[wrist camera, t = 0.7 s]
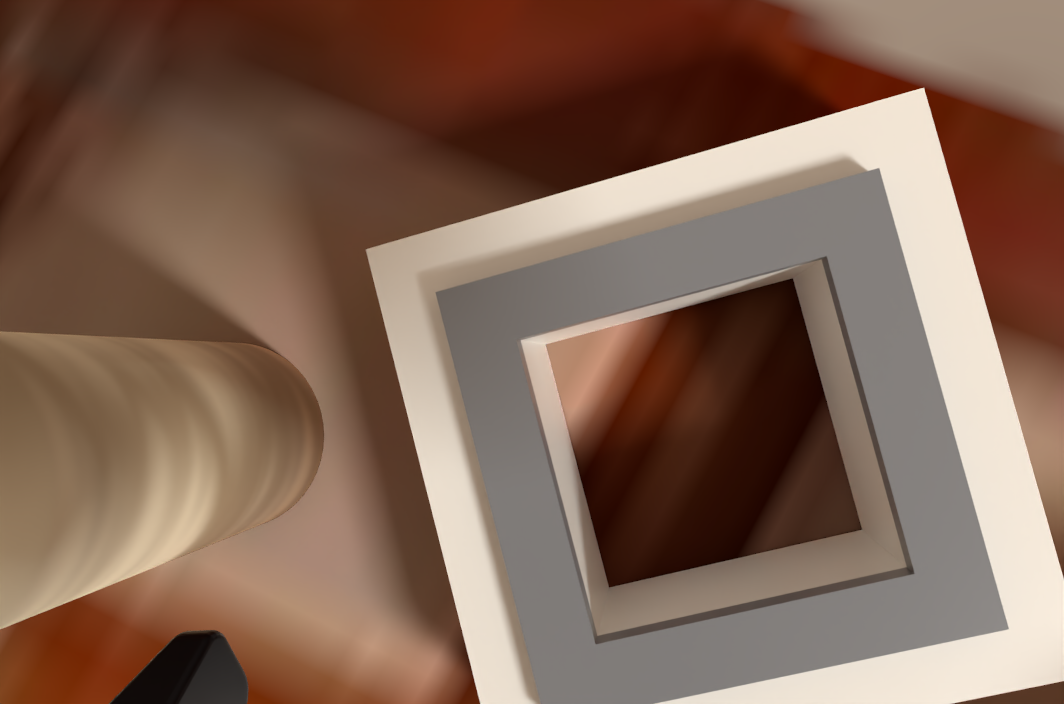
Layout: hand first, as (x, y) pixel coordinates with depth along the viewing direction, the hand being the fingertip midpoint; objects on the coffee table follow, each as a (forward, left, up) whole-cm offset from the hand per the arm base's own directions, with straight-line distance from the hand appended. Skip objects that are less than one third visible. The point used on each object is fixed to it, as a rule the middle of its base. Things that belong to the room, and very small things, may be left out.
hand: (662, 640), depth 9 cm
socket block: (+1, -1, -15) cm, 15 cm away
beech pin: (+4, +11, -15) cm, 19 cm away
